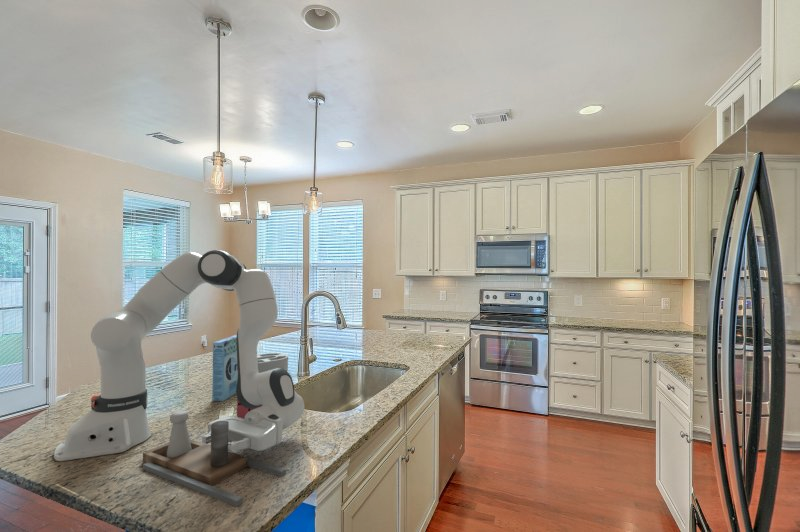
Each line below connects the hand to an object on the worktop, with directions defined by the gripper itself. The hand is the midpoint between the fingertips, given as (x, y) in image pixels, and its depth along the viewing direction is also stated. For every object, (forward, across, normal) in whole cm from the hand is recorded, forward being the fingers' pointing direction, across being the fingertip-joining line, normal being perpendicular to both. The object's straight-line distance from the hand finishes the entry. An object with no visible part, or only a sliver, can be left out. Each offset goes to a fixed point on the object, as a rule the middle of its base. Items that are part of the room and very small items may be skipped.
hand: (216, 444), depth 96 cm
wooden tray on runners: (-1, -10, +8) cm, 12 cm away
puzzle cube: (-35, -22, +8) cm, 42 cm away
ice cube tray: (-70, -59, +8) cm, 92 cm away
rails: (-1, -2, +8) cm, 8 cm away
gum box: (-46, -50, +8) cm, 68 cm away
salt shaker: (-1, -16, +8) cm, 18 cm away
